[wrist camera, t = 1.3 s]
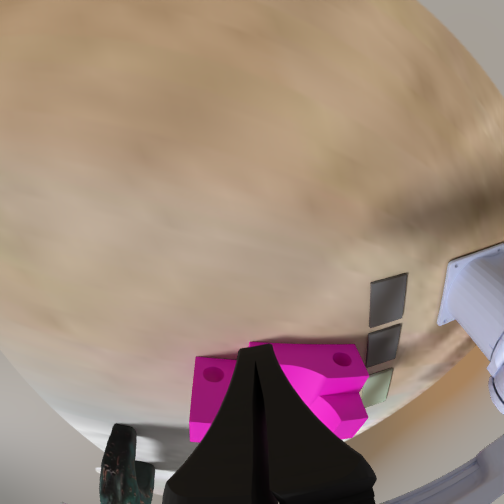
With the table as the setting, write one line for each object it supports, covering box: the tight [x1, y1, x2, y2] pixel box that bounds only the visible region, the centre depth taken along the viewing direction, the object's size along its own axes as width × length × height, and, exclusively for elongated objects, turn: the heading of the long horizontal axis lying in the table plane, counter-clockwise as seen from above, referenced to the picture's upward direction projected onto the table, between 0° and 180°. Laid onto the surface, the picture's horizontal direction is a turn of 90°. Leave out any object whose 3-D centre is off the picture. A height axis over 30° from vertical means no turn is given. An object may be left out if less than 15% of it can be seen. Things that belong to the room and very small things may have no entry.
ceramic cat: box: [99, 424, 155, 504], centre depth 26 cm, size 20×6×20 cm, turn 174°
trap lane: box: [361, 273, 407, 408], centre depth 29 cm, size 21×29×2 cm
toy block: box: [189, 342, 369, 442], centre depth 23 cm, size 15×6×8 cm, turn 82°
